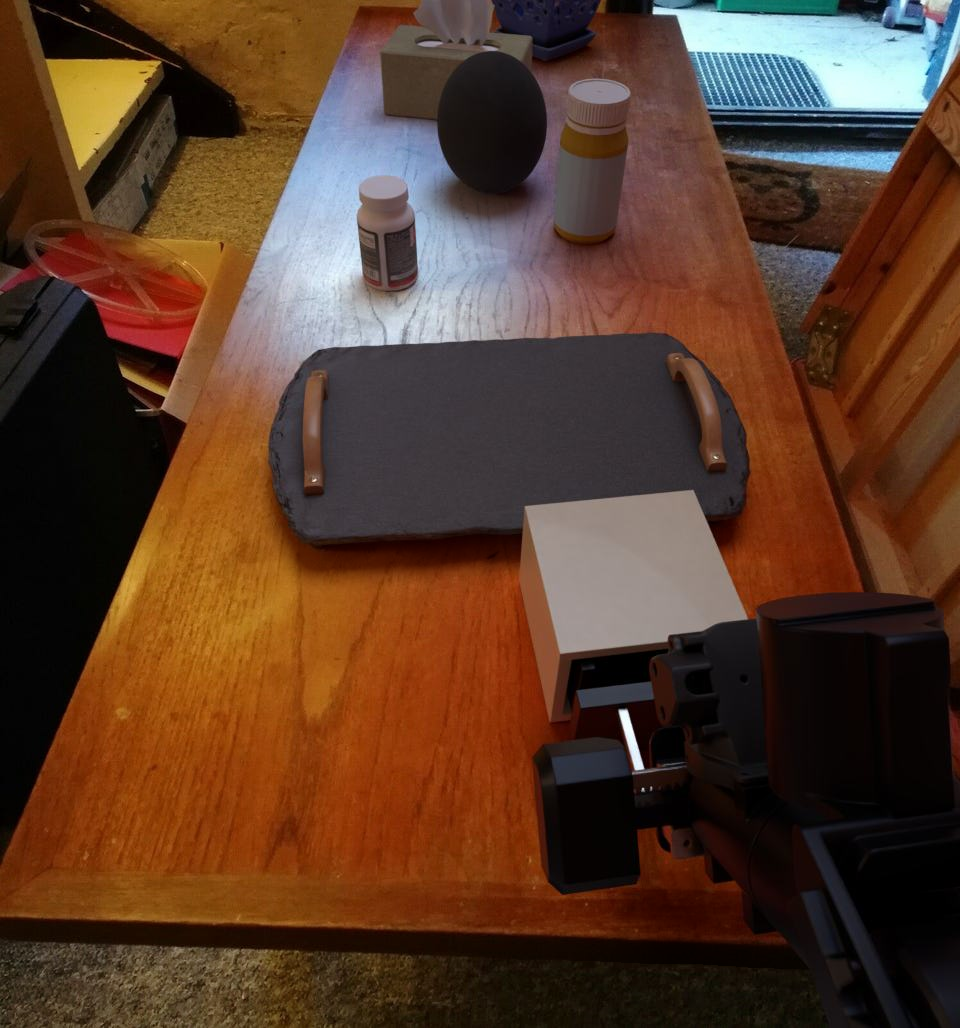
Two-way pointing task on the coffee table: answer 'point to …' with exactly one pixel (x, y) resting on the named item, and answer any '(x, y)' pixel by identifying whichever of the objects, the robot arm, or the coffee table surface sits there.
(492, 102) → the decorative egg
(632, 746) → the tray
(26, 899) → the coffee table surface
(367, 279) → the pill bottle
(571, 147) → the bottle
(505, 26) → the flower pot
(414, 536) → the serving tray
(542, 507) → the grey drawer unit
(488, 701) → the coffee table surface
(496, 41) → the tissue box
